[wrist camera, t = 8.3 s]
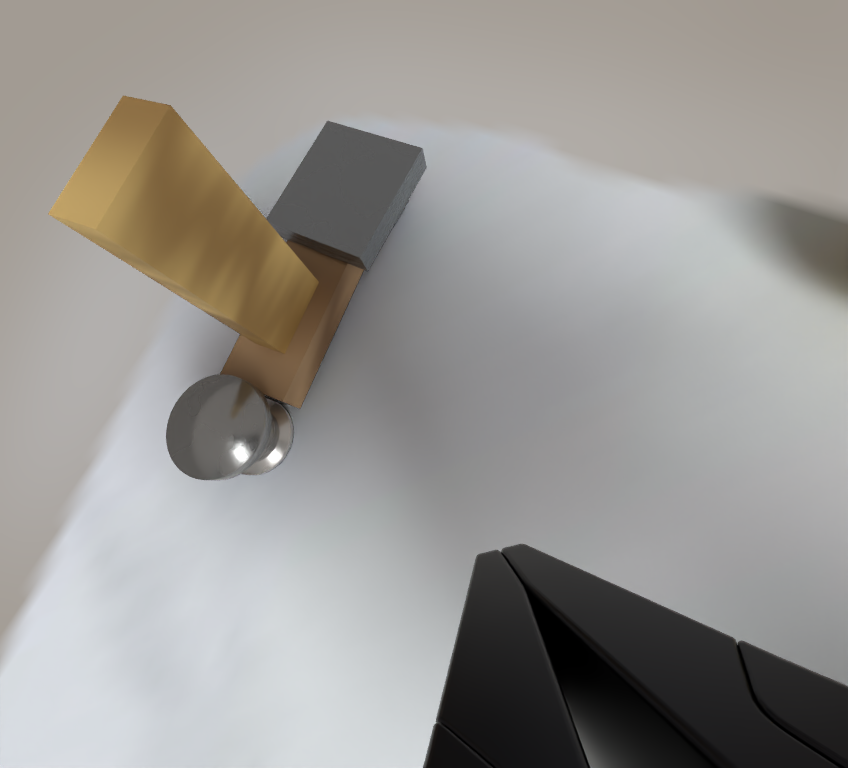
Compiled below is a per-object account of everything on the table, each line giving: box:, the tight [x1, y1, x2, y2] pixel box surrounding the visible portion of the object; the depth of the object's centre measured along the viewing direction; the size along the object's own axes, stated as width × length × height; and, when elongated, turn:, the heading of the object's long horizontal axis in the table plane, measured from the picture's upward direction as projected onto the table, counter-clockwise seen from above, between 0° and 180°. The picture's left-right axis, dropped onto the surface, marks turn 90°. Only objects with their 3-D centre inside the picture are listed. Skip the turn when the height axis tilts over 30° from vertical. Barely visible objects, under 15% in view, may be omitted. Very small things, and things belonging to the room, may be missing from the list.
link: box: [49, 96, 364, 409], centre depth 14 cm, size 9×3×10 cm, turn 158°
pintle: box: [166, 374, 294, 480], centre depth 17 cm, size 4×4×3 cm
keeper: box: [266, 121, 426, 271], centre depth 18 cm, size 5×5×4 cm
